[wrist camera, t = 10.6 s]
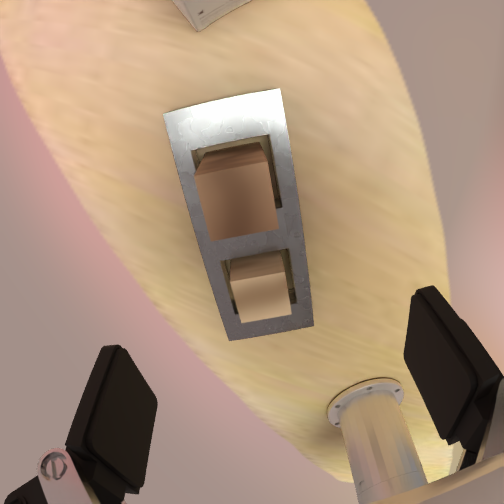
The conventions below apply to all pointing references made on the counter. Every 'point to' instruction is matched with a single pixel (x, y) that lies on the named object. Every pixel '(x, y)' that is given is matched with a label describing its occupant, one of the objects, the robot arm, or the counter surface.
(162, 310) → the counter surface
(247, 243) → the grey flat frame
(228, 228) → the walnut block
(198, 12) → the skincare box
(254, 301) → the seated oak block
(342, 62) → the counter surface
